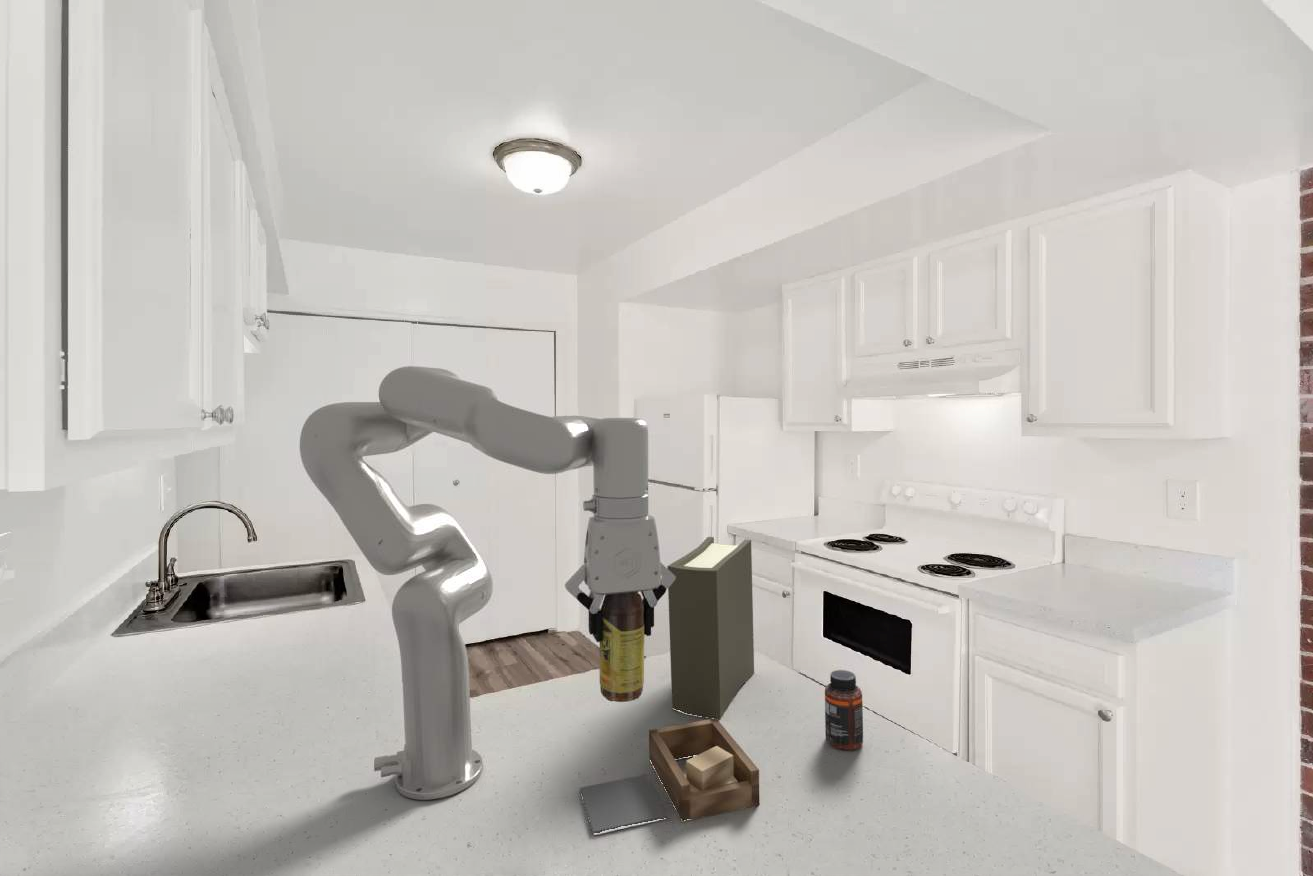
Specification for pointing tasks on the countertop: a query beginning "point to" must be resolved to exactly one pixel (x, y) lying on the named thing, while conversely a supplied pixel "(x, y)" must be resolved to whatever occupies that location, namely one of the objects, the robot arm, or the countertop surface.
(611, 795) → the mat
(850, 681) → the supplement bottle
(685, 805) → the tray
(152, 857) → the countertop surface
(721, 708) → the book
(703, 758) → the offcut top
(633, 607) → the sauce bottle
